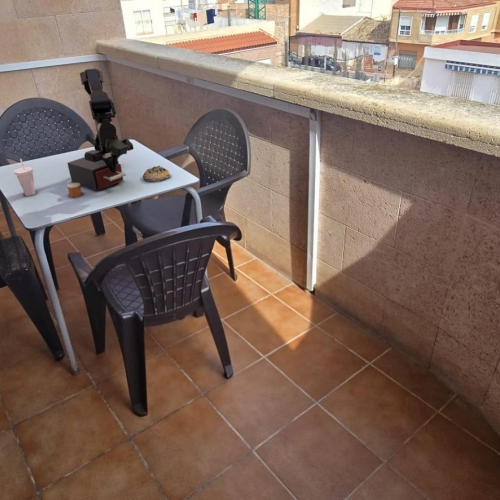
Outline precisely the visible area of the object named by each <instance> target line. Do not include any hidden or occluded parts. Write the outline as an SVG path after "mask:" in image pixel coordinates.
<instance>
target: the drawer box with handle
mask: <svg viewBox="0 0 500 500" xmlns="http://www.w3.org/2000/svg"><path fill="white" fill-rule="evenodd" d="M117 164H120V163H119V160H118V161H117ZM105 167H108V166H107V165H106V163H105V162H104V161H103V160H101V161H98V162H92V161H88V160H85V157H81V158H78V159H74V160H71V161H69V162H67V168H68V171H69V176H70V180H71V183H80V187H83V188H86V189H89V190H92V191H95V192H99V191H100V190H102V189H98V187H97V182H96V177H95V172H94V171H97V170H100V169H102V168H105ZM121 182H122V181H120V182H119V183H121ZM115 184H117V183H115ZM115 184H114V185H115ZM111 186H112V185H110V186H109V187H111ZM104 189H107V187H105V188H104Z"/></svg>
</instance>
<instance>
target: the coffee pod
mask: <svg viewBox="0 0 500 500" xmlns="http://www.w3.org/2000/svg"><path fill="white" fill-rule="evenodd" d="M66 187H67V191H68V194H69V197H70V198H78V197H81V196H82V194H83V192H82V188H81V186H80V183H72V182H70V183H67V185H66Z"/></svg>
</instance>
